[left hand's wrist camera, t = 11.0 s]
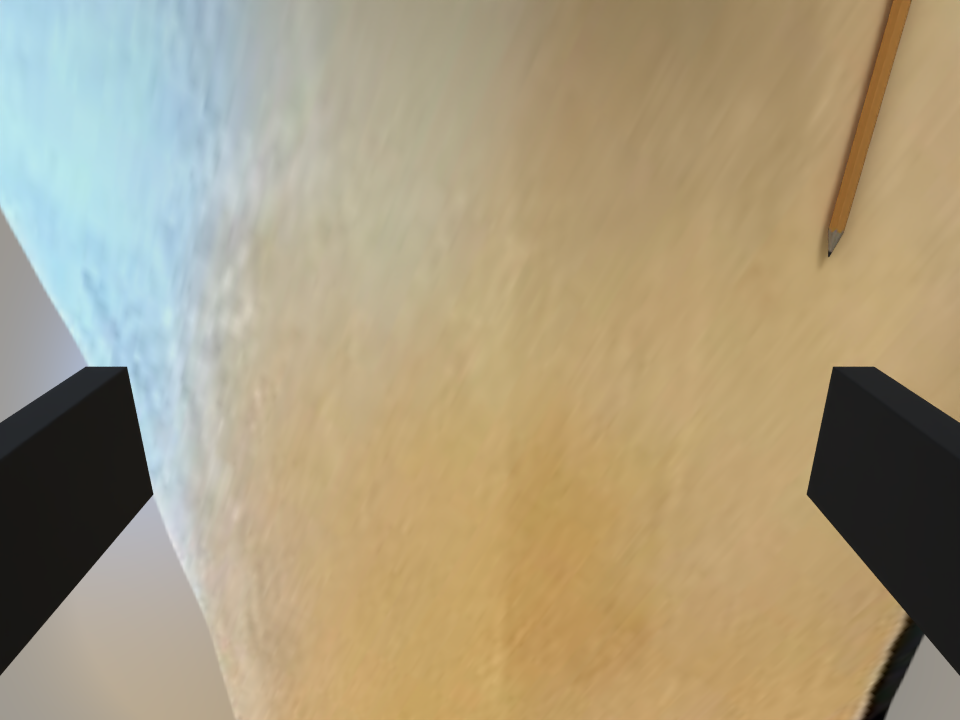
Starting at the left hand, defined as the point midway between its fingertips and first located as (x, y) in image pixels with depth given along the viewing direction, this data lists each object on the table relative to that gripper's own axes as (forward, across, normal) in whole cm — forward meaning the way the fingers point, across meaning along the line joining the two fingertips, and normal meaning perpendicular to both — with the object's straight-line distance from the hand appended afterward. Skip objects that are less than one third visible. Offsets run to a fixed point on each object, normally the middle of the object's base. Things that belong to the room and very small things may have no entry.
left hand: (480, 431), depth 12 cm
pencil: (+31, +23, +6) cm, 39 cm away
